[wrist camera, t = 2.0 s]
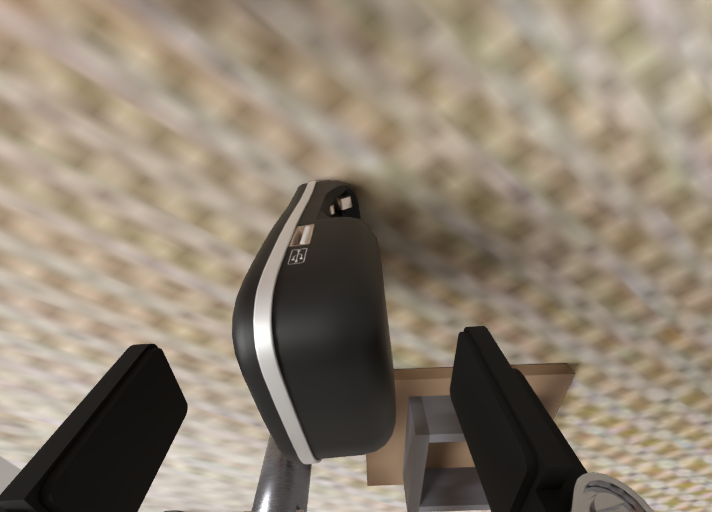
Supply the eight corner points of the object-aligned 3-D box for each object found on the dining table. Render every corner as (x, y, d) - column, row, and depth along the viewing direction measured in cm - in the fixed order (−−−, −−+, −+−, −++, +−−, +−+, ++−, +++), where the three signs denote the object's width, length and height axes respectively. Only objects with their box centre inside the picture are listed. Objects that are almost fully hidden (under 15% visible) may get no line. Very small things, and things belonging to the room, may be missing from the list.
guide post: (342, 348, 22) (337, 515, 13) (347, 406, 26) (345, 570, 17) (249, 351, 22) (183, 520, 13) (266, 409, 26) (222, 574, 17)
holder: (566, 363, 23) (604, 411, 20) (519, 469, 31) (540, 517, 27) (363, 370, 23) (365, 419, 20) (367, 474, 31) (368, 523, 28)
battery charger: (379, 277, 19) (410, 479, 9) (321, 284, 19) (289, 490, 9) (366, 168, 16) (392, 300, 6) (296, 178, 16) (204, 322, 6)
